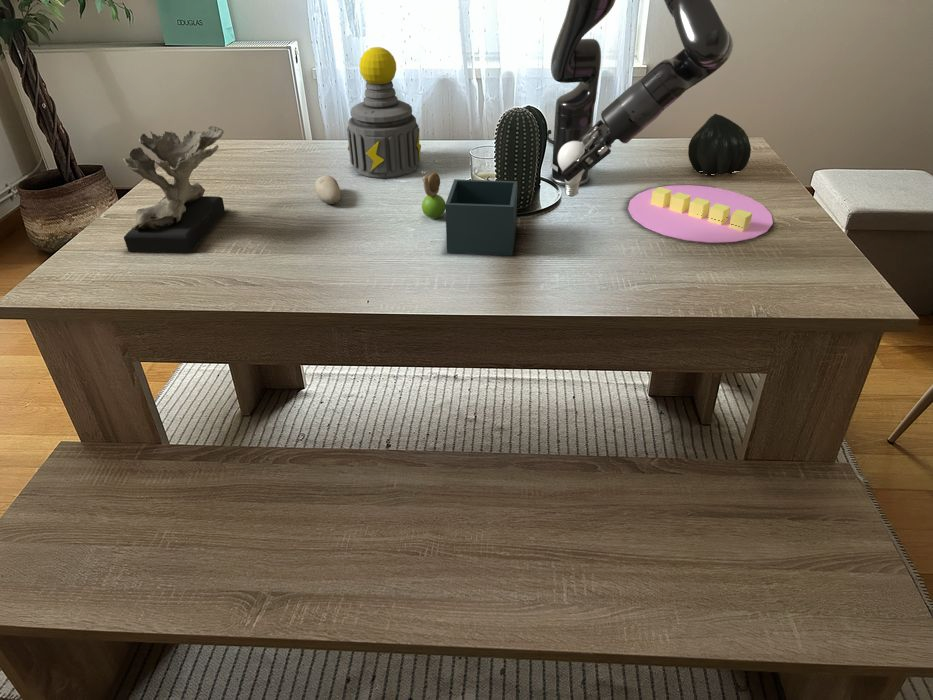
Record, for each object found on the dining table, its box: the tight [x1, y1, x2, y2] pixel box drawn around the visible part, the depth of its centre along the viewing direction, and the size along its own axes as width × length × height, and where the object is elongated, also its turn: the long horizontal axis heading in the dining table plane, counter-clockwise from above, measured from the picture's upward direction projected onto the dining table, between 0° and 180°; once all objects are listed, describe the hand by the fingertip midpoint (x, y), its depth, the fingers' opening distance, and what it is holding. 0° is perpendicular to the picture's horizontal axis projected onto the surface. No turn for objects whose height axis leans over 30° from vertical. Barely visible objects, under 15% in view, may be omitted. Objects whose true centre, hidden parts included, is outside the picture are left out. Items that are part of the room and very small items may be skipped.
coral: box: [122, 125, 226, 254], centre depth 151 cm, size 25×20×22 cm
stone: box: [314, 174, 342, 205], centre depth 169 cm, size 6×6×12 cm
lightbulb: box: [558, 141, 589, 197], centre depth 137 cm, size 6×6×11 cm
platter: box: [627, 184, 774, 244], centre depth 160 cm, size 32×32×3 cm
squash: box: [687, 113, 752, 178], centre depth 178 cm, size 14×15×15 cm
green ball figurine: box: [421, 170, 446, 219], centre depth 157 cm, size 5×6×12 cm
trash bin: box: [445, 178, 519, 257], centre depth 147 cm, size 14×14×11 cm
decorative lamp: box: [346, 46, 422, 179], centre depth 179 cm, size 19×19×30 cm
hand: (564, 170), depth 138 cm, fingers closed on lightbulb, 6 cm apart
